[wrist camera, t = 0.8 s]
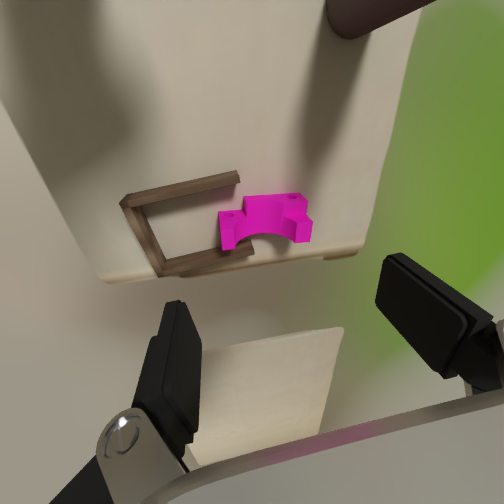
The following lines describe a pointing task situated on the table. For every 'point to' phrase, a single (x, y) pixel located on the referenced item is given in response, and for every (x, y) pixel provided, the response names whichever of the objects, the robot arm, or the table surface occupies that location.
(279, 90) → the table surface
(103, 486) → the robot arm
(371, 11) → the beer bottle
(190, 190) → the walnut bay
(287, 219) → the magenta curved block
